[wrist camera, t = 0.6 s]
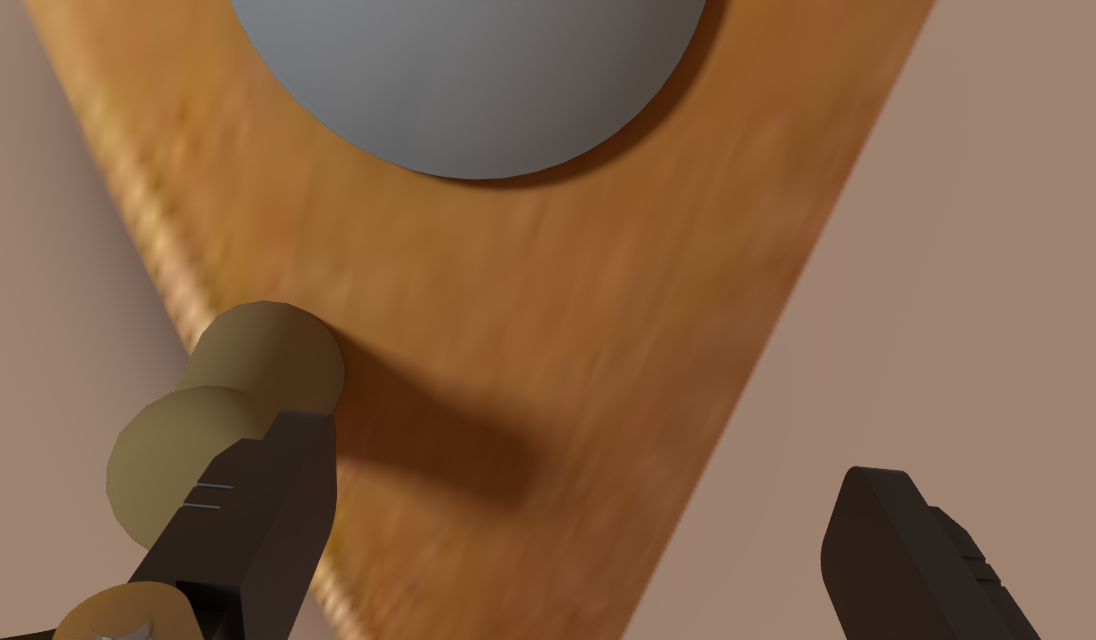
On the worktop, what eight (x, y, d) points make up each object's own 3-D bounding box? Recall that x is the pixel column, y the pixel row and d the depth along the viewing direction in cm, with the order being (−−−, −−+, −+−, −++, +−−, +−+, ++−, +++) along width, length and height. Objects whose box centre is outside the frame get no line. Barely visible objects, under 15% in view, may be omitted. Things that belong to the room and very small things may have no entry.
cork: (311, 279, 31) (247, 367, 20) (367, 410, 33) (336, 553, 22) (165, 330, 31) (25, 445, 20) (230, 459, 32) (133, 627, 22)
